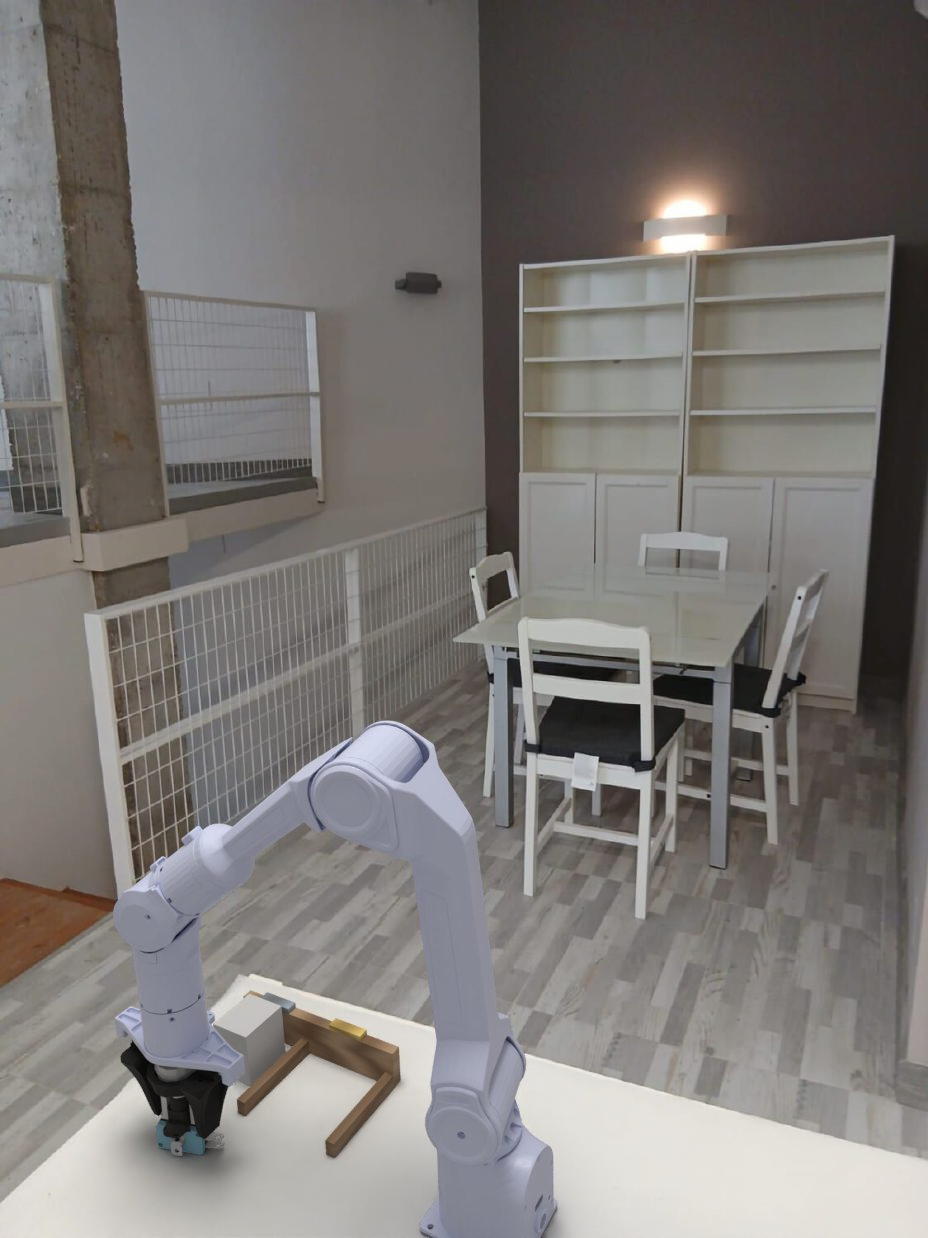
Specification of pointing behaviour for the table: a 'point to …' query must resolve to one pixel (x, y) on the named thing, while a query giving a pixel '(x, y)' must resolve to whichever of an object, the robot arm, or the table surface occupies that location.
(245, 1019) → the grey plug block
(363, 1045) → the wooden bench frame
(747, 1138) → the table surface
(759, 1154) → the table surface
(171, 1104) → the push button
